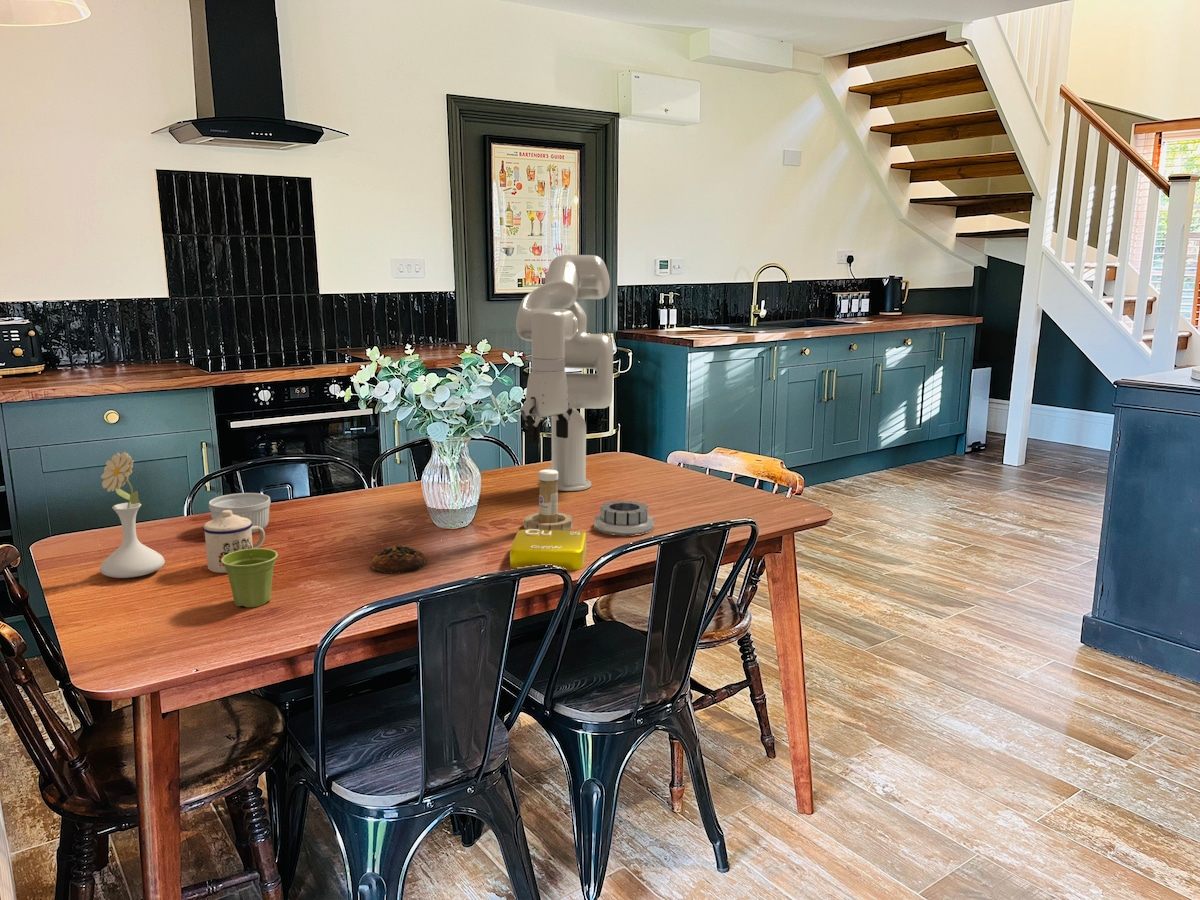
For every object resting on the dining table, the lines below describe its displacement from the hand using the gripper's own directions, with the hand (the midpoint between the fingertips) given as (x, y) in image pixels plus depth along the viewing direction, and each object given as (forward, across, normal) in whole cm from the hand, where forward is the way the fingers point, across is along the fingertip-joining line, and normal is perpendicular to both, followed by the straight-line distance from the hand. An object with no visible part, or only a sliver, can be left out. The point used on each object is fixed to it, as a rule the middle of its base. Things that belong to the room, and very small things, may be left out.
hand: (548, 440), depth 203 cm
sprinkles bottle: (+21, 0, 0) cm, 21 cm away
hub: (+21, -12, +14) cm, 27 cm away
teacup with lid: (+21, +60, -30) cm, 71 cm away
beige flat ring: (+21, 0, 0) cm, 21 cm away
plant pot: (+22, +70, -9) cm, 73 cm away
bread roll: (+22, +40, -6) cm, 45 cm away
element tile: (+22, +16, +15) cm, 31 cm away
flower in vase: (+22, +76, -40) cm, 89 cm away
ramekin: (+21, +46, -53) cm, 74 cm away
